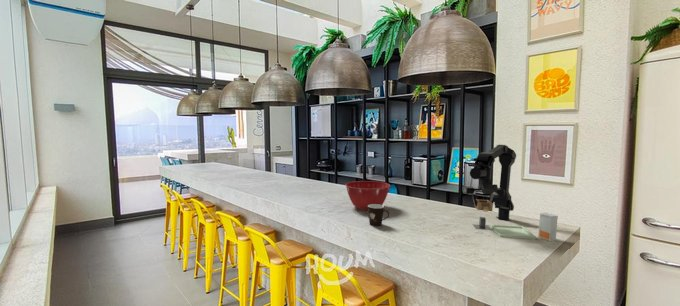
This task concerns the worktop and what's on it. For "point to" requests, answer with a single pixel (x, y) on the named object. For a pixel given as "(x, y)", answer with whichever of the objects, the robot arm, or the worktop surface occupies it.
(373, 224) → the coffee mug
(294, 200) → the worktop surface
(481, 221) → the grey upright post
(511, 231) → the tray
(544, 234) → the skincare box
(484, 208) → the wooden lantern frame
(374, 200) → the mixing bowl
